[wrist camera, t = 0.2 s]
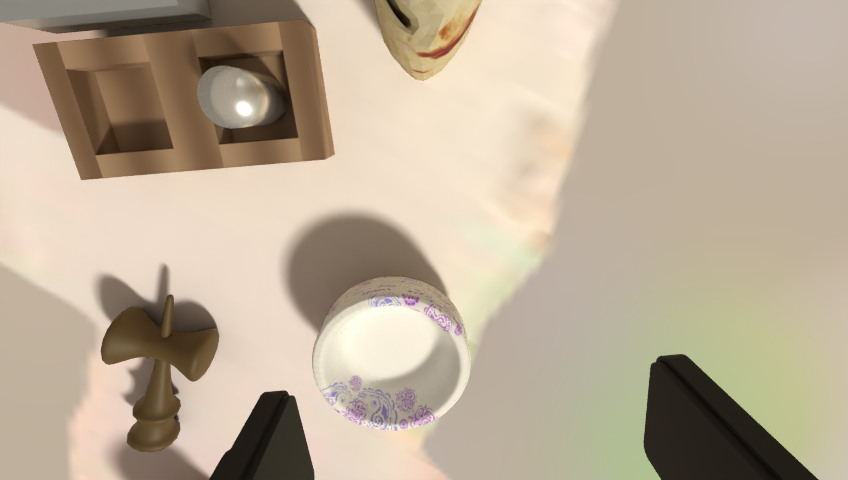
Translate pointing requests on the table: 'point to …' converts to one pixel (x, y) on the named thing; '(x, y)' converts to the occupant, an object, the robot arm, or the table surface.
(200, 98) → the cylinder
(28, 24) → the tray
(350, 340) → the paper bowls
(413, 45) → the food model
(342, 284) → the table surface
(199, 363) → the kendama
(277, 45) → the brown compartment tray
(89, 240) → the table surface
